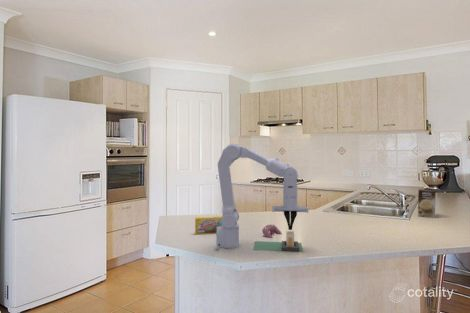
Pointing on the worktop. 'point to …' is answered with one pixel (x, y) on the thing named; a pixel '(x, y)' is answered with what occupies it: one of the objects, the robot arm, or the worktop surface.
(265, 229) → the pink toy figure
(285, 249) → the frame
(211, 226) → the candy box
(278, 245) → the circuit board
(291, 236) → the plug
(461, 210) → the worktop surface
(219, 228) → the robot arm
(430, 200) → the coffee box
